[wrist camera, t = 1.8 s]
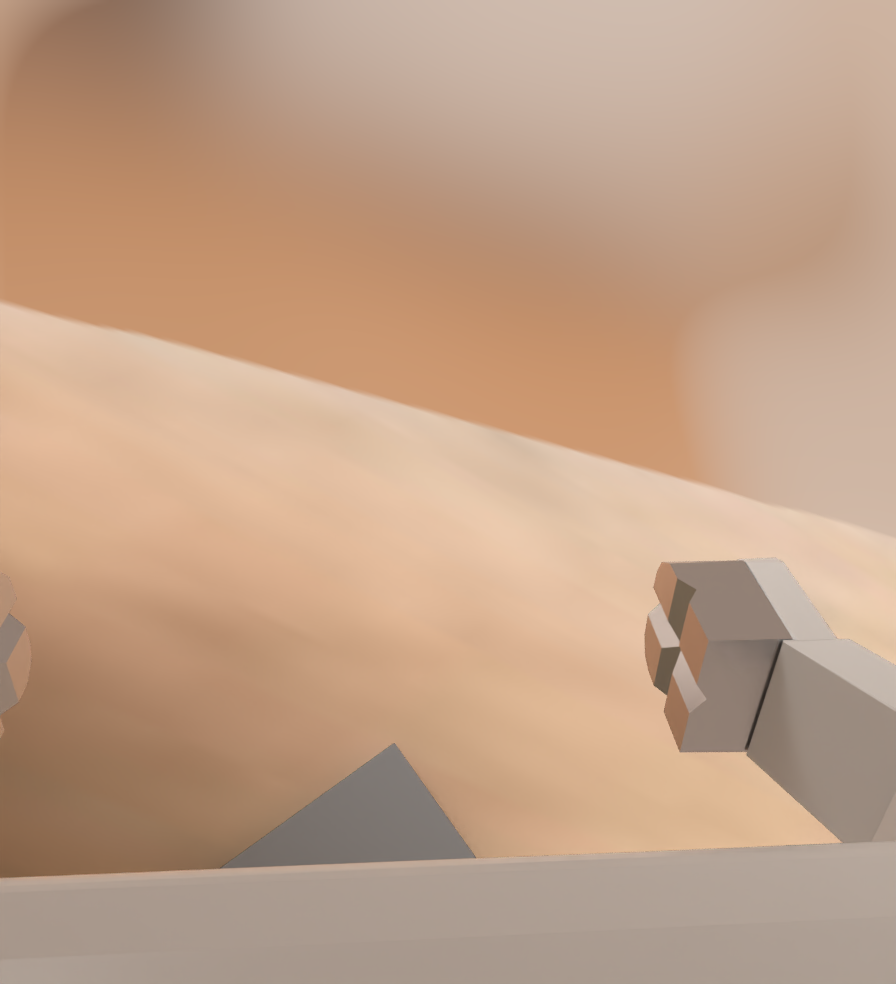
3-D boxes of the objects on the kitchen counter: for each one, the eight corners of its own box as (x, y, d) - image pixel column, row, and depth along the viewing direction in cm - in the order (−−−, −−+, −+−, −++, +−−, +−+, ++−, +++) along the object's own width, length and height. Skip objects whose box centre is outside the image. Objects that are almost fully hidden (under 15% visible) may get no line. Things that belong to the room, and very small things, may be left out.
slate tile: (263, 1160, 32) (267, 1162, 32) (135, 931, 35) (136, 928, 34) (509, 919, 40) (517, 916, 40) (389, 748, 43) (394, 742, 42)
